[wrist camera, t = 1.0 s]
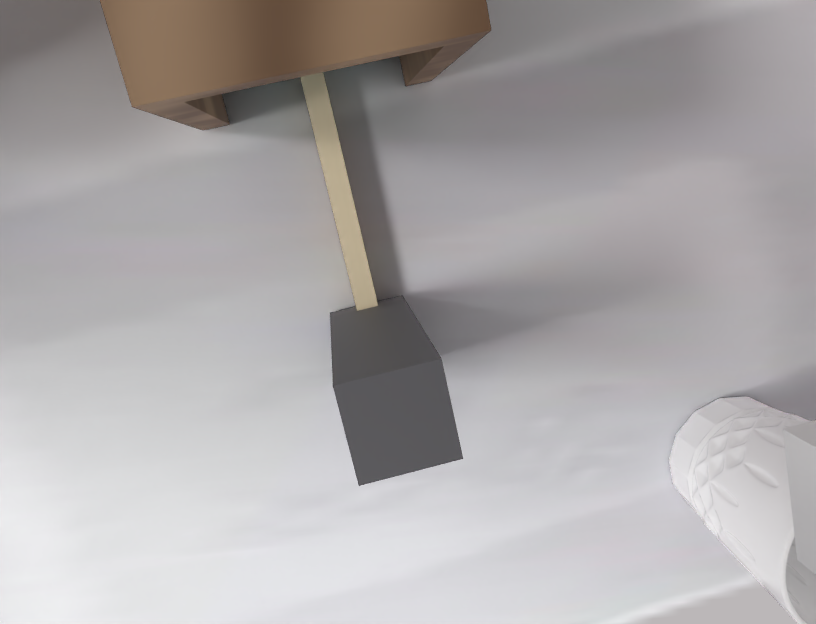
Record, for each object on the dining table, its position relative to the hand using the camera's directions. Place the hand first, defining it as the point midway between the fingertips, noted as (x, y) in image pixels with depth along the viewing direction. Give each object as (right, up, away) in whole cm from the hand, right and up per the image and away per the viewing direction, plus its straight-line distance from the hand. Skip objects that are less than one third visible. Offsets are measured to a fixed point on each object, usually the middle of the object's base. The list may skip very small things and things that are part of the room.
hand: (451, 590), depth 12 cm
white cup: (+16, -3, +24) cm, 30 cm away
